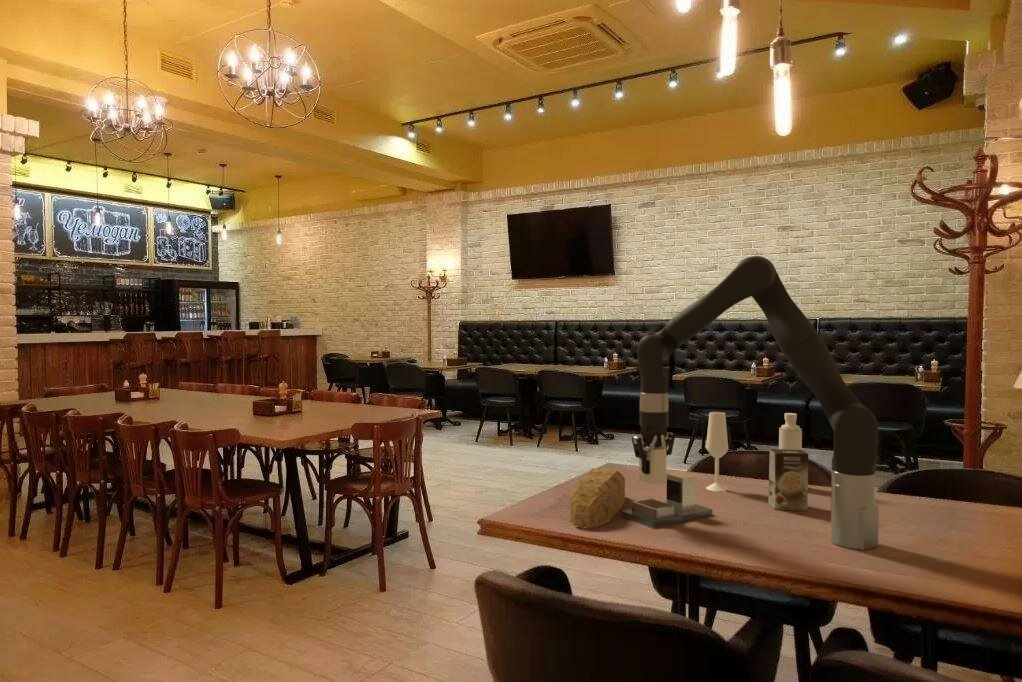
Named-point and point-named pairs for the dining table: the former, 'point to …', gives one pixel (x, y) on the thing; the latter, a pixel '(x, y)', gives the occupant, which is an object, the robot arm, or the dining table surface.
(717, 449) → the champagne flute
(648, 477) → the beige block
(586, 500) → the bread
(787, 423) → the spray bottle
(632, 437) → the robot arm
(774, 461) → the coffee box
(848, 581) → the dining table surface
